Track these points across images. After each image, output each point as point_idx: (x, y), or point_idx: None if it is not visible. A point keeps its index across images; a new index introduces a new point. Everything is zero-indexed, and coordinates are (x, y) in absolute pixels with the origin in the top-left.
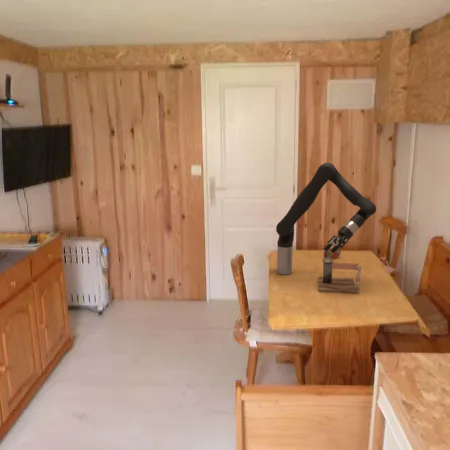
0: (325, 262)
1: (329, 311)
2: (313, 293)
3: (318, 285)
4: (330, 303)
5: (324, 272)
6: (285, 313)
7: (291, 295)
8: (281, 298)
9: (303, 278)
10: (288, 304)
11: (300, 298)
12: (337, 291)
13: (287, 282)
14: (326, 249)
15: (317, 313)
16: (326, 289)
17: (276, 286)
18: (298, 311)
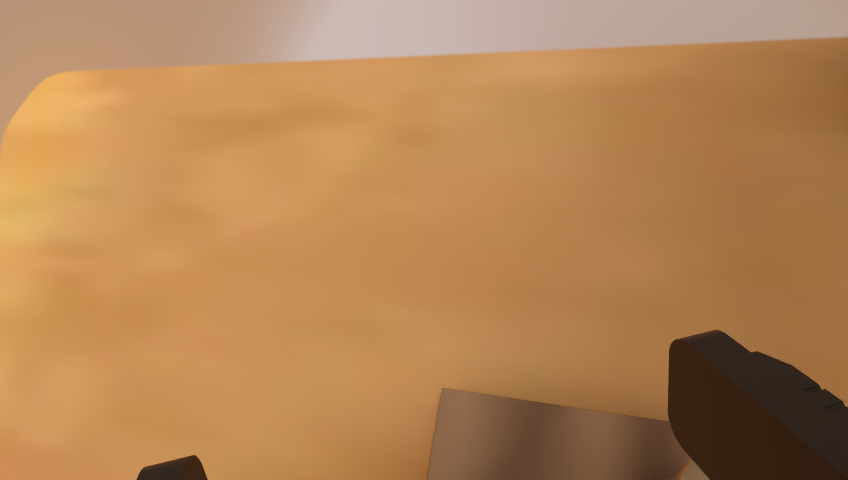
0: (685, 467)
1: (46, 409)
2: (410, 338)
3: (576, 409)
4: (179, 452)
5: (669, 477)
6: (110, 127)
7: (380, 167)
8: (333, 105)
9: (832, 291)
10: (229, 145)
11: (316, 224)
12: None
13: (676, 145)
14: (700, 421)
15: (47, 314)
16: (434, 470)
17: (568, 71)
18: (113, 198)
